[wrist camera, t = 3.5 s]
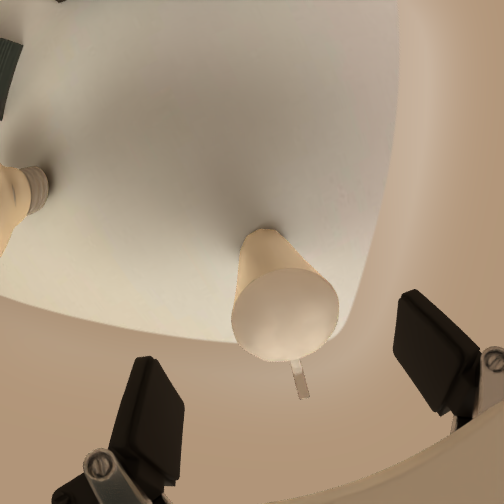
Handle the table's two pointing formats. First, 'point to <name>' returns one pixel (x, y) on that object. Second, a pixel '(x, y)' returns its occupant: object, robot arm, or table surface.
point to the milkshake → (281, 303)
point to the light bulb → (19, 197)
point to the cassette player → (7, 68)
